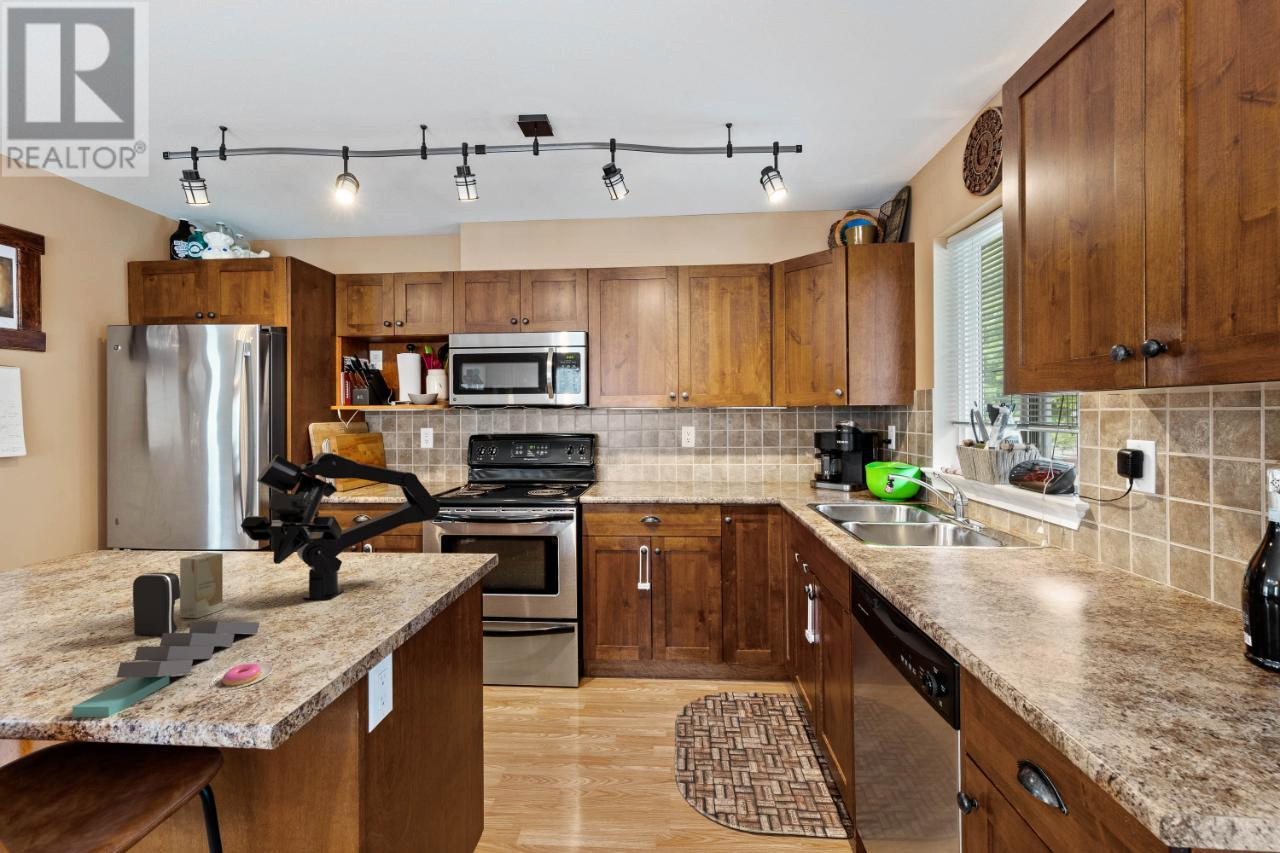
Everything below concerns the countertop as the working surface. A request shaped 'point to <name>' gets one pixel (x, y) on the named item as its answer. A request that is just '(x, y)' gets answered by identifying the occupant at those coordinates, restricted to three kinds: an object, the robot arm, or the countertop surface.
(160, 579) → the black rounded upright block
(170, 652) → the domino
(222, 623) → the domino
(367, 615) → the countertop surface
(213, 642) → the domino
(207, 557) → the skincare box
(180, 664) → the domino
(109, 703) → the domino
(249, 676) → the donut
